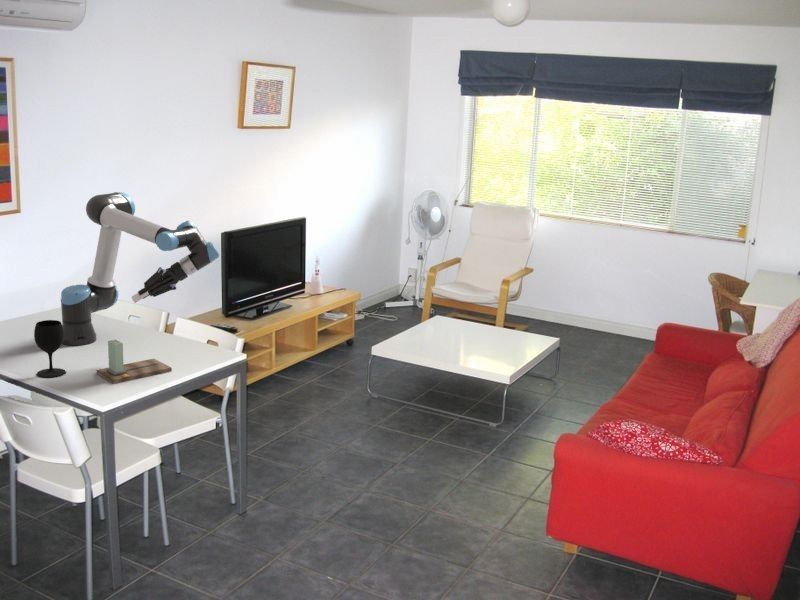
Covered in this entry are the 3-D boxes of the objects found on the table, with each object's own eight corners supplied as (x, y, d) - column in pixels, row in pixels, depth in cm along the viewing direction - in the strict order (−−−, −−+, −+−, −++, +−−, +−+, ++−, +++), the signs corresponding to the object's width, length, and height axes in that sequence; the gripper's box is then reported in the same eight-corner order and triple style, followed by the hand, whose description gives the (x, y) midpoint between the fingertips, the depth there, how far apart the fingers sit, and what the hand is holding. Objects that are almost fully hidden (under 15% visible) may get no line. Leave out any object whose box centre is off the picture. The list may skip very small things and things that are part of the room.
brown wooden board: (113, 383, 310) (113, 379, 310) (96, 373, 320) (96, 369, 319) (171, 371, 327) (171, 367, 326) (154, 362, 336) (153, 358, 336)
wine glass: (62, 378, 314) (59, 327, 309) (33, 378, 312) (30, 327, 307) (68, 369, 323) (66, 319, 319) (40, 369, 322) (37, 319, 317)
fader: (114, 375, 314) (113, 345, 311) (105, 370, 318) (104, 341, 316) (126, 372, 317) (125, 343, 314) (118, 367, 322) (117, 338, 319)
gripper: (179, 264, 332) (127, 296, 329) (193, 283, 343) (143, 314, 339) (173, 253, 337) (122, 284, 334) (187, 272, 347) (138, 303, 344)
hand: (133, 299), depth 336 cm, fingers closed
